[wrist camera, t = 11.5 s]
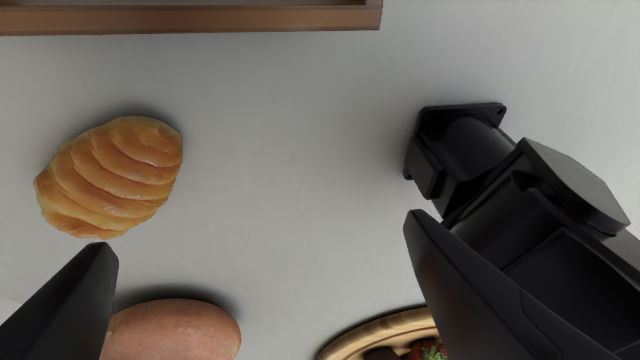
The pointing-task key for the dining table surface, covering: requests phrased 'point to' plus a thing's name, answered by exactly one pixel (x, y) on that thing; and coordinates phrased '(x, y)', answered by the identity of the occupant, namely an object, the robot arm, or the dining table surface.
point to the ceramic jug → (172, 332)
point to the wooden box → (184, 16)
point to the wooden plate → (390, 339)
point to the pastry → (110, 177)
